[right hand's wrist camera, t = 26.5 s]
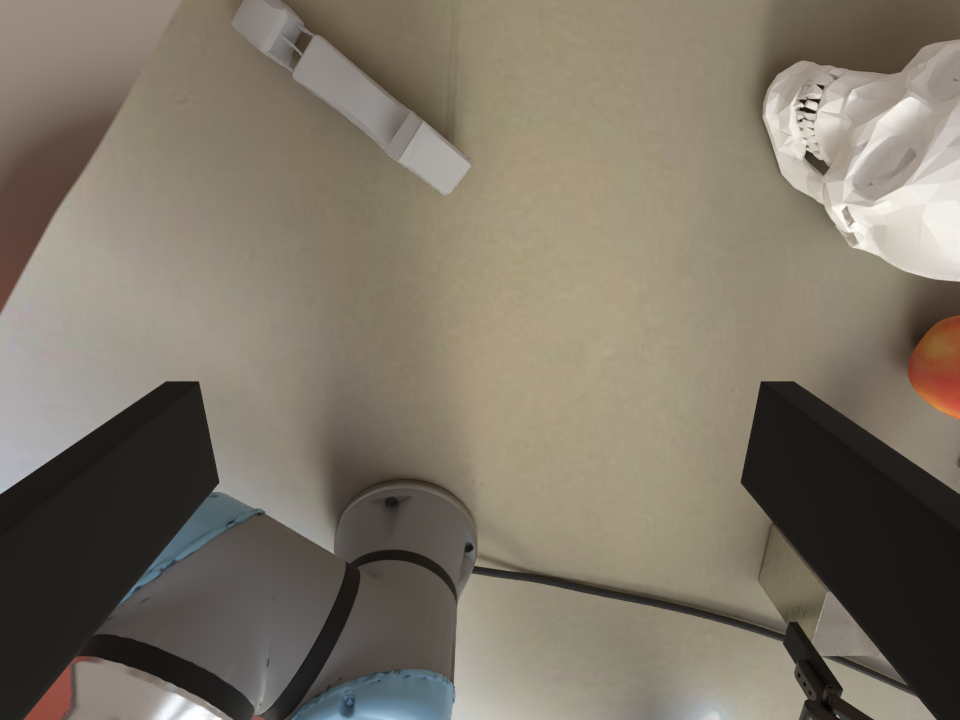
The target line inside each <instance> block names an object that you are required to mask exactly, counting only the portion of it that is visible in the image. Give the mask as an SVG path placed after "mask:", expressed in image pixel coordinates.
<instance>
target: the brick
mask: <svg viewBox="0 0 960 720" xmlns="http://www.w3.org/2000/svg"><path fill="white" fill-rule="evenodd" d="M758 582H759V583H760V585H761V586H762V588H763V589H764V591H765V592H766V594H767V595H768V597H769V598H770V600H771V601H772V603H773V604H774V606H775V607H776V609H777V610H778V612H779V613H780V615H781V616H782V618H783V619H784V621H785V622H786V624H787V625H788V624H789V622H798V624H799V625H800V627H801V628H802V629H803V631H804V632H805V634H806V635H807V637H808V638H809V640H810V641H811V643H812V644H813V646H814V647H815V649H816V650H817V652H818V653H819V654H820V656H878V654H879V649H878V648H877V647H876V646H875V644H874V643H873V642H872V641H871V640H870V638H869V637H868V636H867V635H866V634H865V632H864V631H863V630H862V629H861V628H860V626H859V625H858V624H857V623H856V622H855V620H854V619H853V618H852V617H851V615H850V614H849V613H848V612H847V611H846V609H845V608H844V607H843V606H842V605H841V603H840V602H839V601H838V600H837V599H836V597H835V596H834V595H833V594H832V592H831V591H830V590H829V589H828V588H827V586H826V585H825V584H824V583H823V582H822V580H821V579H820V578H819V577H818V576H817V574H816V573H815V572H814V571H813V570H812V568H811V567H810V566H809V565H808V563H807V562H806V561H805V560H804V559H803V557H802V556H801V555H800V554H799V553H798V551H797V550H796V549H795V548H794V547H793V545H792V544H791V543H790V542H789V540H788V539H787V538H786V537H785V536H784V534H783V533H782V532H781V531H780V530H779V528H778V527H777V526H776V525H775V524H772V526H771V530H770V534H769V538H768V543H767V547H766V551H765V555H764V560H763V564H762V568H761V572H760V577H759V581H758Z"/></svg>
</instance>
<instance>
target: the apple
mask: <svg viewBox="0 0 960 720" xmlns="http://www.w3.org/2000/svg"><path fill="white" fill-rule="evenodd" d="M908 376H909V380H910V382H911V384H912V386H913V388H914V389H915V390H916V392H917V393H918V394H919V395H920V396H921V397H922V398H923V399H924V400H925V401H926V402H928V403H929V404H930V405H932V406H933V407H935V408H936V409H938V410H940V411H941V412H943V413H945V414H947V415H950V416H952V417H955V418H957V419H960V315H957V316H952V317H948V318H946V319H943V320H941V321H939V322H938V323H936V324H935V325H934V326H933V327H931V328H930V330H929V331H928V332H927V333H926V334H925V335H924V336H923V338H922V339H921V340H920V342H919V343H918V344H917V346H916V348H915V349H914V351H913V353H912V355H911V358H910V361H909V365H908Z"/></svg>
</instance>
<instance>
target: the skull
mask: <svg viewBox="0 0 960 720" xmlns="http://www.w3.org/2000/svg"><path fill="white" fill-rule="evenodd" d="M817 84H819V85H823V86H825V87H824V90H822V89H821V88H819V87H818V86H817ZM809 86H810V87H809ZM805 93H806V94H805ZM807 97H808V99H821V100H820V103H819V104H817V103H816V102H813V101H810V100H807ZM800 99H805V100H807V101H806V103H805V105H803V104H802V103H801V102H800ZM804 106H805V107H807V108H810V109H812V110H815V111H816V113H815V114H811V113H806V112H803V111H799V107H804ZM802 118H806V119H808V120H805V119H803V122H800V119H802ZM763 120H764V123H765V125H766V128H767V131H768V133H769V136H770V139H771V142H772V146H773V149H774V152H775V155H776V158H777V161H778V164H779V168H780V171H781V174H782V175H783V176H784V177H785V178H786V179H787V180H788V182H789V183H790V184H791V185H792V186H793V187H794V188H796V189H797V190H799V191H801V192H803V193H805V194H807V195H809V196H811V197H813V198H814V199H815V200H816V201H817V202H819V203H821V204H824V206H825V210H826V211H827V213H828V215H829V216H830V218H831V219H832V220H833V222H834V223H835V227H836V228H837V229H838V230H839V231H840V232H841V234H842V235H843V236H844V237H845V239H846V241H847V243H848V244H849V246H850V247H853V248H857V249H862V250H865V251H867V252H870V253H872V254H875V255H878V256H880V257H881V258H883V259H884V260H886V261H887V262H888V263H890V264H892V265H894V266H896V267H898V268H899V269H901V270H903V271H906V272H909V273H913V274H916V275H920V276H923V277H927V278H931V279H937V280H948V281H960V39H959V40H952V41H945V42H938V43H933V44H930V45H927V46H924V47H923V48H921V49H920V51H919V52H918V53H917V55H916V56H915V57H914V58H913V59H912V60H911V61H910V62H909V64H908V65H907V66H906V67H905V68H904V69H903V70H902V71H901V72H899V73H894V74H889V75H888V74H881V73H875V72H861V71H852V70H848V69H844V68H836V67H834V66H831V65H823V66H820V65H818V64H816V63H814V62H809V61H800V62H797V63H796V64H794V65H792V66H791V67H789V68H787V69H786V70H784V71H783V72H781V73H779V74H778V75H777V76H776V78H775V79H774V81H773V82H772V84H771V85H770V86H769V88H768V90H767V93H766V96H765V99H764V102H763ZM810 120H814V121H810ZM812 128H814V130H813V129H812ZM806 150H807V151H809V152H811V153H813V155H814V156H815V157H817V158H818V159H819V160H824V161H825V163H826V165H827V166H829V167H830V168H829V169H828V171H827V172H826V174H825V175H823V174H822V173H820V172H819V171H818V170H817V169H816V168H815V167H813V166H812V165H811V164H810V163H809V162H808V161H807V160H806V159H805V157H804V156H805V152H806Z"/></svg>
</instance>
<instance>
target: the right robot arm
mask: <svg viewBox="0 0 960 720" xmlns="http://www.w3.org/2000/svg"><path fill="white" fill-rule="evenodd" d="M218 484H219V478H218V473H217V469H216V464H215V459H214V454H213V449H212V444H211V439H210V434H209V429H208V424H207V419H206V414H205V409H204V404H203V399H202V394H201V389H200V384H199V381H166V382H165V383H163V384H162V385H160V386H159V387H157V388H156V389H154V390H153V391H151V392H150V393H148V394H147V395H146V396H144V397H143V398H141V399H140V400H138V401H137V402H135V403H134V404H132V405H131V406H129V407H128V408H126V409H125V410H124V411H122V412H121V413H119V414H118V415H116V416H115V417H113V418H112V419H110V420H109V421H107V422H106V423H104V424H103V425H102V426H100V427H99V428H97V429H96V430H94V431H93V432H91V433H90V434H88V435H87V436H85V437H84V438H82V439H81V440H80V441H78V442H77V443H75V444H74V445H72V446H71V447H69V448H68V449H66V450H65V451H63V452H62V453H60V454H59V455H58V456H56V457H55V458H53V459H52V460H50V461H49V462H47V463H46V464H44V465H43V466H41V467H40V468H38V469H37V470H36V471H34V472H33V473H31V474H30V475H28V476H27V477H25V478H24V479H22V480H21V481H19V482H18V483H16V484H15V485H14V486H12V487H11V488H9V489H8V490H6V491H5V492H3V493H2V494H0V720H23V719H24V718H25V717H26V716H27V715H28V713H29V712H30V711H31V710H32V708H33V707H34V706H35V705H36V704H37V702H38V701H39V700H40V699H41V698H42V696H43V695H44V694H45V693H46V692H47V690H48V689H49V688H50V687H51V686H52V684H53V683H54V682H55V681H56V680H57V678H58V677H59V676H60V675H61V673H62V672H63V671H64V670H65V669H66V667H67V666H68V665H69V664H70V663H71V664H70V681H71V695H72V696H71V700H70V705H69V709H68V710H67V711H66V712H65V714H64V715H63V716H62V718H61V719H60V720H251V718H252V716H253V714H255V715H257V716H260V717H262V718H264V719H266V720H451V714H452V707H453V703H454V700H455V689H454V688H455V687H454V667H455V645H456V622H457V601H458V599H459V597H460V595H461V593H462V591H463V589H464V587H465V585H466V583H467V581H468V579H469V577H470V575H471V573H473V574H479V575H486V576H492V577H499V578H507V579H515V580H523V581H530V582H535V583H541V584H546V585H551V586H556V587H561V588H565V589H570V590H574V591H579V592H583V593H588V594H593V595H598V596H603V597H608V598H613V599H618V600H624V601H629V602H634V603H639V604H644V605H649V606H654V607H659V608H663V609H668V610H672V611H677V612H681V613H685V614H689V615H694V616H698V617H702V618H705V619H709V620H713V621H717V622H720V623H724V624H728V625H731V626H735V627H738V628H742V629H745V630H748V631H752V632H755V633H758V634H761V635H764V636H767V637H770V638H773V639H776V640H779V641H782V642H783V641H784V638H785V635H783V634H780V633H777V632H774V631H771V630H768V629H765V628H762V627H759V626H756V625H753V624H749V623H746V622H743V621H739V620H736V619H732V618H729V617H725V616H722V615H718V614H714V613H711V612H707V611H703V610H699V609H695V608H691V607H687V606H682V605H678V604H674V603H669V602H665V601H660V600H656V599H651V598H646V597H641V596H636V595H631V594H626V593H620V592H615V591H610V590H605V589H600V588H595V587H590V586H585V585H581V584H576V583H572V582H567V581H563V580H558V579H554V578H549V577H544V576H538V575H533V574H526V573H519V572H511V571H504V570H497V569H490V568H484V567H478V566H474V564H475V561H476V557H477V531H476V527H475V524H474V521H473V519H472V517H471V515H470V513H469V512H468V510H467V509H466V507H465V506H464V505H463V504H462V503H461V502H460V501H459V500H458V499H457V498H456V497H455V496H453V495H452V494H450V493H449V492H447V491H446V490H444V489H442V488H440V487H438V486H435V485H432V484H429V483H426V482H422V481H416V480H393V481H387V482H383V483H379V484H377V485H374V486H372V487H370V488H368V489H366V490H364V491H363V492H361V493H360V494H358V495H357V496H356V497H355V498H354V499H353V500H352V501H351V502H350V503H349V504H348V506H347V507H346V509H345V510H344V512H343V514H342V516H341V519H340V521H339V524H338V526H337V529H336V533H335V540H334V554H335V555H334V554H332V553H331V552H329V551H327V550H326V549H324V548H322V547H320V546H319V545H317V544H315V543H314V542H312V541H310V540H309V539H307V538H305V537H304V536H302V535H300V534H298V533H297V532H295V531H293V530H292V529H290V528H288V527H287V526H285V525H283V524H281V523H280V522H278V521H276V520H275V519H273V518H271V517H270V516H268V515H266V514H265V511H264V510H262V509H254V508H252V507H250V506H248V505H246V504H244V503H242V502H240V501H238V500H236V499H234V498H232V497H231V496H229V495H226V494H224V493H220V492H212V491H213V490H214V488H215V487H216V486H217V485H218ZM741 484H742V485H743V486H744V487H745V488H746V490H747V491H748V492H749V493H750V495H751V496H752V497H753V498H754V499H755V501H756V502H757V503H758V504H759V505H760V507H761V508H762V509H763V510H764V511H765V513H766V514H767V515H768V516H769V518H770V519H771V520H772V521H773V522H774V524H775V525H776V526H777V527H778V528H779V530H780V531H781V532H782V533H783V534H784V536H785V537H786V538H787V539H788V540H789V542H790V543H791V544H792V545H793V547H794V548H795V549H796V550H797V551H798V553H799V554H800V555H801V556H802V557H803V559H804V560H805V561H806V562H807V563H808V565H809V566H810V567H811V568H812V570H813V571H814V572H815V573H816V574H817V576H818V577H819V578H820V579H821V580H822V582H823V583H824V584H825V585H826V586H827V588H828V589H829V590H830V591H831V592H832V594H833V595H834V596H835V597H836V599H837V600H838V601H839V602H840V603H841V605H842V606H843V607H844V608H845V609H846V611H847V612H848V613H849V614H850V615H851V617H852V618H853V619H854V620H855V622H856V623H857V624H858V625H859V626H860V628H861V629H862V630H863V631H864V632H865V634H866V635H867V636H868V637H869V638H870V640H871V641H872V642H873V643H874V644H875V646H876V647H877V648H878V649H879V651H880V652H881V653H882V654H883V655H884V657H885V658H886V659H887V660H888V661H889V663H890V664H891V665H892V666H893V667H894V669H895V670H896V671H897V672H898V673H899V675H900V676H901V677H902V678H903V680H904V681H905V682H906V683H907V684H908V686H907V685H905V684H903V683H900V682H898V681H896V680H894V679H891V678H889V677H887V676H885V675H882V674H880V673H878V672H875V671H873V670H871V669H869V668H866V667H864V666H862V665H859V664H857V663H855V662H852V661H850V660H848V659H845V658H843V657H840V656H823V657H825V658H828V659H830V660H833V661H835V662H838V663H840V664H842V665H845V666H847V667H850V668H852V669H854V670H857V671H859V672H861V673H864V674H866V675H868V676H871V677H873V678H875V679H878V680H880V681H882V682H885V683H887V684H889V685H891V686H894V687H896V688H898V689H900V690H903V691H905V692H907V693H909V694H912V695H914V696H916V697H918V698H919V699H920V700H921V701H922V703H923V704H924V705H925V706H926V707H927V709H928V710H929V711H930V712H931V713H932V715H933V716H934V717H935V718H936V719H937V720H960V494H958V493H957V492H955V491H954V490H952V489H951V488H949V487H948V486H946V485H945V484H944V483H942V482H941V481H939V480H938V479H936V478H935V477H933V476H932V475H930V474H929V473H927V472H926V471H924V470H923V469H922V468H920V467H919V466H917V465H916V464H914V463H913V462H911V461H910V460H908V459H907V458H905V457H904V456H902V455H901V454H900V453H898V452H897V451H895V450H894V449H892V448H891V447H889V446H888V445H886V444H885V443H883V442H882V441H880V440H879V439H878V438H876V437H875V436H873V435H872V434H870V433H869V432H867V431H866V430H864V429H863V428H861V427H860V426H858V425H857V424H856V423H854V422H853V421H851V420H850V419H848V418H847V417H845V416H844V415H842V414H841V413H839V412H838V411H836V410H835V409H834V408H832V407H831V406H829V405H828V404H826V403H825V402H823V401H822V400H820V399H819V398H817V397H816V396H814V395H813V394H812V393H810V392H809V391H807V390H806V389H804V388H803V387H801V386H800V385H798V384H797V383H795V382H794V381H761V384H760V389H759V394H758V399H757V404H756V409H755V414H754V419H753V424H752V429H751V434H750V439H749V444H748V449H747V454H746V459H745V464H744V469H743V473H742V478H741ZM81 649H82V650H81ZM77 654H78V655H77ZM76 655H77V656H76ZM73 659H74V660H73ZM72 660H73V661H72ZM71 661H72V662H71Z"/></svg>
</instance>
